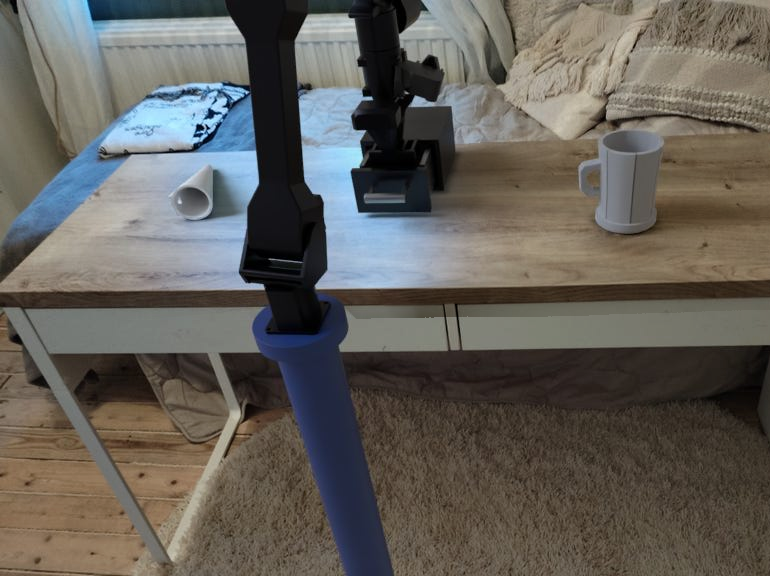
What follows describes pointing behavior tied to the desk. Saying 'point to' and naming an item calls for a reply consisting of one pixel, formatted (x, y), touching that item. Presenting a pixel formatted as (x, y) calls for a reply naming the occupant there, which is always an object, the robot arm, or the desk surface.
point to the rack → (397, 154)
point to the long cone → (194, 195)
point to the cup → (625, 180)
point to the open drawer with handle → (396, 185)
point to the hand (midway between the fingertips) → (395, 153)
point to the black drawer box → (428, 136)
